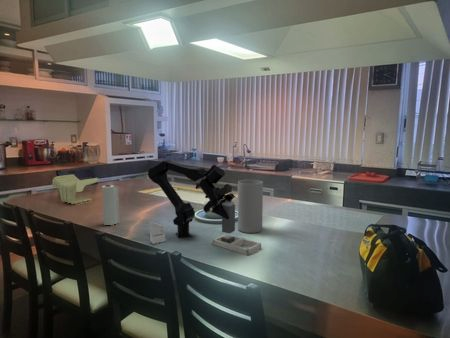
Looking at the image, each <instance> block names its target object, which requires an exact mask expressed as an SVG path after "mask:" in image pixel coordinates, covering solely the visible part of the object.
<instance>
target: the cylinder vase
mask: <svg viewBox="0 0 450 338" xmlns="http://www.w3.org/2000/svg"><path fill="white" fill-rule="evenodd" d="M263 193H264V182H263V181H262V180H259V179H243V180H242V179H240V180H238V181H237V229H238V231H239V232H242V233H244V234H257V233H260V232H261V231H262V230H263V210H264V209H263V205H264V204H263V203H264V202H263V200H264V199H263V198H264V194H263Z"/></svg>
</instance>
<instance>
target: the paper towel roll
mask: <svg viewBox="0 0 450 338" xmlns="http://www.w3.org/2000/svg"><path fill="white" fill-rule="evenodd" d="M101 196H102V198H101V199H102V211H103V212H102V213H103V214H102V217H103V225H104V226H105V225H111V226H115V225H114V224H116V225H118V224H117V223H119V224H120V223H121V222H120V221H121V220H120V217H121V216H120V199H119V186H118V185H115V186H114V184H110V185H109V184H108V185H102V186H101Z"/></svg>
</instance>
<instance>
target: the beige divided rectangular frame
mask: <svg viewBox="0 0 450 338" xmlns="http://www.w3.org/2000/svg"><path fill="white" fill-rule="evenodd" d="M212 245H214V246H217V247H220V248H223V249H227V250H229V251H232V250H233V251H232V252H236V253H239V254H242V253H243V254H242V255H245V254H246V255H245V256H249V254H250V255H251V254H254V253H255V252H257V251H259V250H260V249H262V243H261V242H257V241H254V240H251V239H246V238H243V237H239V236H235V235H232V234H230V233H224V234H222V235H220V236H218V237H216V238H213V239H212ZM243 245H245V246H249V247H248V248H245V247H242V246H243Z"/></svg>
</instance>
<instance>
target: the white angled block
mask: <svg viewBox="0 0 450 338" xmlns="http://www.w3.org/2000/svg"><path fill="white" fill-rule="evenodd" d="M149 237H150V238H149V241H151V242H152V243H151V242H150V243H151V244H152V245H156V244H160V243H159V242H161V243H164V241H165V242H166V234H164V226H163V225H161V224H159V223H156V222H154V221H152V220H149ZM155 243H156V244H155Z"/></svg>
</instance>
